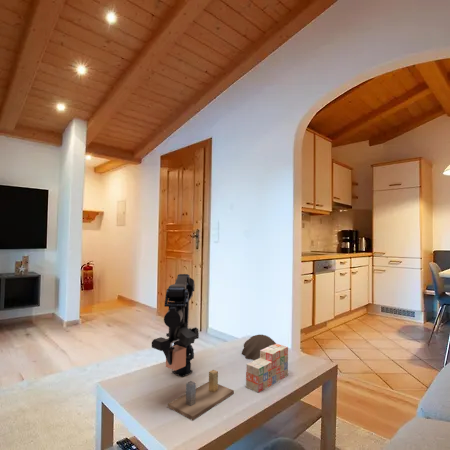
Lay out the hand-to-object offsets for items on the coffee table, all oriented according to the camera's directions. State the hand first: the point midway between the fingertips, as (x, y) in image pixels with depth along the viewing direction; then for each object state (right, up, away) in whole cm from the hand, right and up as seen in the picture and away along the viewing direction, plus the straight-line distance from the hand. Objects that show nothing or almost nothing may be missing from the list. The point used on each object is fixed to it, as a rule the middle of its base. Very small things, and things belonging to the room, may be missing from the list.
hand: (175, 362), depth 115 cm
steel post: (+6, -12, -8) cm, 16 cm away
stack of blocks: (+36, -14, +13) cm, 40 cm away
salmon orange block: (0, -2, 0) cm, 2 cm away
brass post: (+14, -13, +2) cm, 19 cm away
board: (+10, -13, -3) cm, 16 cm away
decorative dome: (+37, -15, +41) cm, 57 cm away
